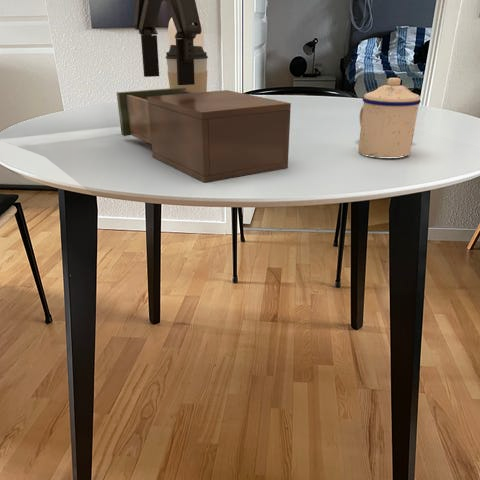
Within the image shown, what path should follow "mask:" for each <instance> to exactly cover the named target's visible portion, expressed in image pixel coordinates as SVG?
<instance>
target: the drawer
mask: <svg viewBox="0 0 480 480" xmlns="http://www.w3.org/2000/svg"><path fill="white" fill-rule="evenodd" d="M186 93H195V92H190V91H186V88H184V87H181V88H170V87H169V88H157V89H155V88H154V89H146V90H145V89H144V90H141V89H140V90H130V91H117V92H116V100H117V108H118V118H119V126H120V133H121V136H123V137H128V136H132V137H134V138H137V139H138V140H141V141H143V142H145V143H148V144H150V145H151V134H150V122H149V111H148V101H147V97H150V96H162V95H174V94H186Z"/></svg>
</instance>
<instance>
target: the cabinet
mask: <svg viewBox="0 0 480 480" xmlns="http://www.w3.org/2000/svg"><path fill="white" fill-rule="evenodd" d="M147 101H148V111H149V122H150V134H151V144H150V145H151V154H152V158H154V159H156V160H157V161H160V162H162V163H163V164H166V165H168V166H170V167H171V168H174V169H176V170H178V171H180V172H182V173H184V174H186V175H189V176H191V177H192V178H194V179H197V180H199V181H201V182H203V183H209V182H210V183H211V182H215V181H216V182H217V181H222V180H227V179H233V178H238V177H244V176H249V175H254V174H261V173H266V172H271V171H276V170H277V171H279V170H284V169H288V168H289V150H290V128H291V127H290V126H291V109H292V107H291V106H292V103H290V102H287V101H283V100H277V99H272V98H267V97H263V96H257V95H253V94H248V93H243V92H238V91H232V90H228V89H225V90H224V89H223V90H212V91H207V92H198V93H186V94H174V95H162V96H150V97H147Z"/></svg>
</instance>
